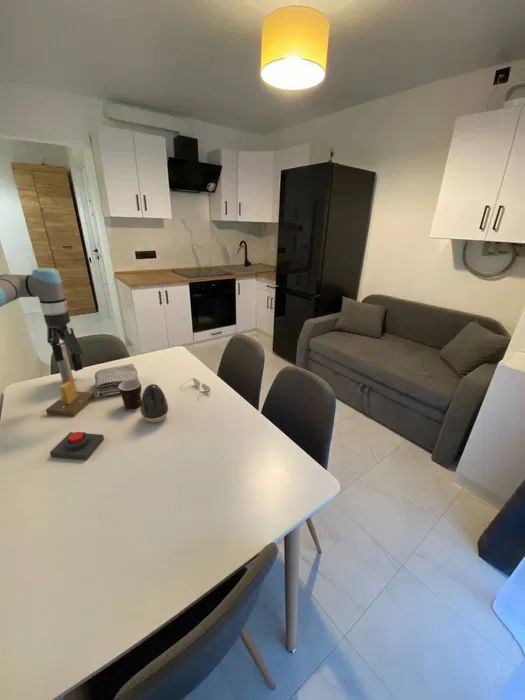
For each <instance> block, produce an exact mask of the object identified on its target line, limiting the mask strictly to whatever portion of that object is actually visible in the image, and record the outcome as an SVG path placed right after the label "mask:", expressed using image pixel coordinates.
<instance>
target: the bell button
mask: <svg viewBox="0 0 525 700" xmlns="http://www.w3.org/2000/svg"><path fill="white" fill-rule="evenodd" d="M82 432H83V431H75V432H74V433H72V434H71V435H70V436H69V441H70V443H71V444H75V443H79V442H80V441H82V440H83V438H84V437H83V434H82Z"/></svg>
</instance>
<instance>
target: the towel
mask: <svg viewBox="0 0 525 700" xmlns="http://www.w3.org/2000/svg"><path fill="white" fill-rule="evenodd" d="M94 379H95V391H96V393H97V397H98V398H103V397H109V396H114V395H118V394H121V393H120V390H119V387H118V386H119V384H120V383H122V382H124V381H127V380H139V381H140V382H141V380H140V378H139V376H138V371H137V368H136V367H135V365H134V364H133V363H129V364H124V365H119V366H112V367H108V368H107V367H106V368H101V369H98V370H97V371H96V372H95V374H94ZM142 385H143V384H142V383H141V386H142Z"/></svg>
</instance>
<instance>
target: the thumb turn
mask: <svg viewBox="0 0 525 700" xmlns="http://www.w3.org/2000/svg"><path fill="white" fill-rule="evenodd" d="M59 390H60V394H61V397H62V398H63V401H64V404H70V403H71V402H73V401H74V400H75V399H76V398H77V397H78V396H77V392H78V391H77V389H76V385H75V380H74V379H73V380H68V381H67V382H66V383H65V384H63V383H62V385H60V387H59ZM76 391H77V392H76Z"/></svg>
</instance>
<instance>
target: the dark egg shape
mask: <svg viewBox="0 0 525 700" xmlns="http://www.w3.org/2000/svg"><path fill="white" fill-rule="evenodd" d="M169 409H170V408H169V403H168V400H167V397H166V395H165V393H164V391H163V390H162V388H161V387H160V386H159V385H158V384H155V383H150V384H149V385H146V387H145V389H144V390H143V393H142V395H141V406H140V414H141V416H142V418H143V419H144V420H146V421H147V422H149V423H158V422H160V421H162V420H164V419H165V418H166V417H167V415H168V412H169Z"/></svg>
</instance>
